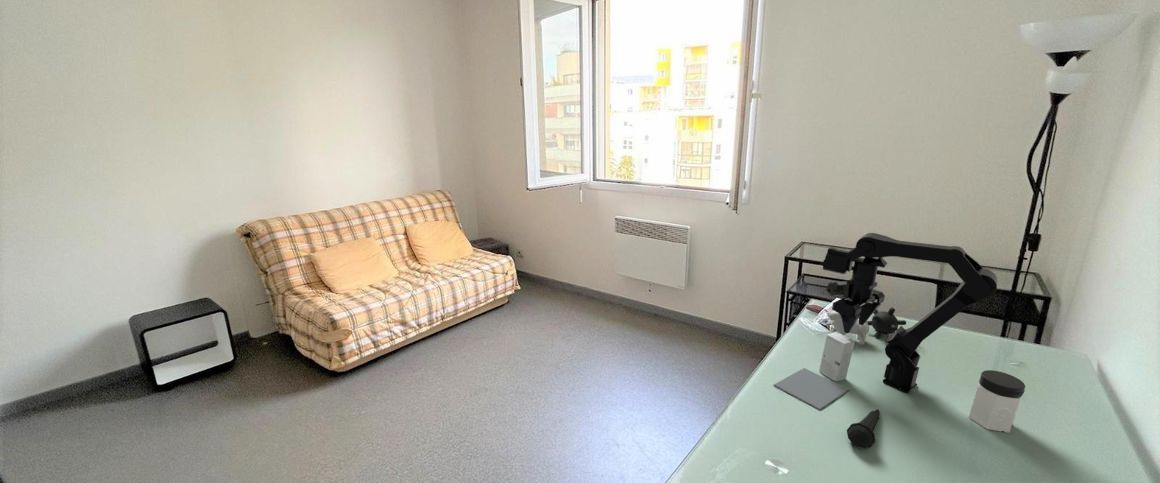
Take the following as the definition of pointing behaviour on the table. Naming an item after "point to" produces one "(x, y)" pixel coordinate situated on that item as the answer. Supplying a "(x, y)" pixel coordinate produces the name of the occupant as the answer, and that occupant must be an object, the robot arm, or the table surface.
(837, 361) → the skincare box
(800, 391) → the mat
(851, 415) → the table surface
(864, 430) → the microphone
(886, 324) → the toy ball
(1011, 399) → the jar
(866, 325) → the dog figurine
